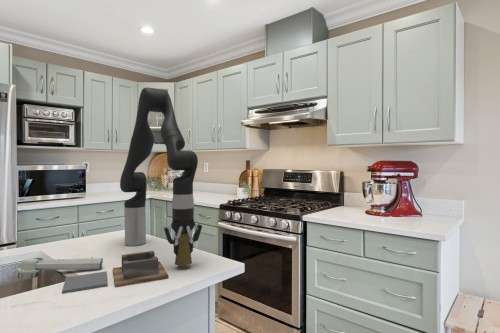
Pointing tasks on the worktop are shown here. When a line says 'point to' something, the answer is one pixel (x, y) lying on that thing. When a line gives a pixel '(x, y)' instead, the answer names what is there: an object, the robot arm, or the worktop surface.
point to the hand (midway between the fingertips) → (183, 253)
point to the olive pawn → (183, 251)
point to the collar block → (139, 269)
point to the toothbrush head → (57, 266)
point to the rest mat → (85, 282)
